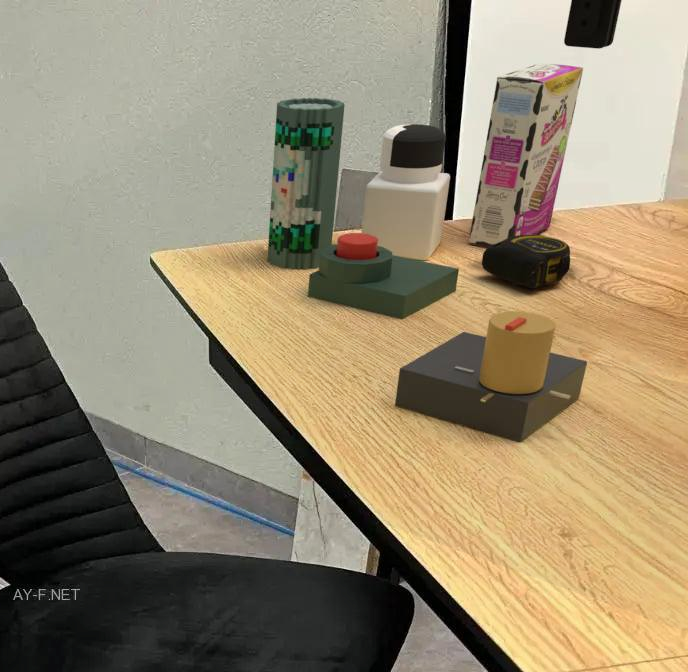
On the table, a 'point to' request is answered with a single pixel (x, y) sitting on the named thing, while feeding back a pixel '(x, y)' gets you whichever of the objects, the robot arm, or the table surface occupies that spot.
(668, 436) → the table surface
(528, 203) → the candy bar box
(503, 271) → the tape measure
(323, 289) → the button block
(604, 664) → the table surface
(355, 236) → the button
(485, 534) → the table surface
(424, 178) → the medicine bottle
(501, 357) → the lock knob
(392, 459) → the table surface
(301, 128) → the can
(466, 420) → the plate
